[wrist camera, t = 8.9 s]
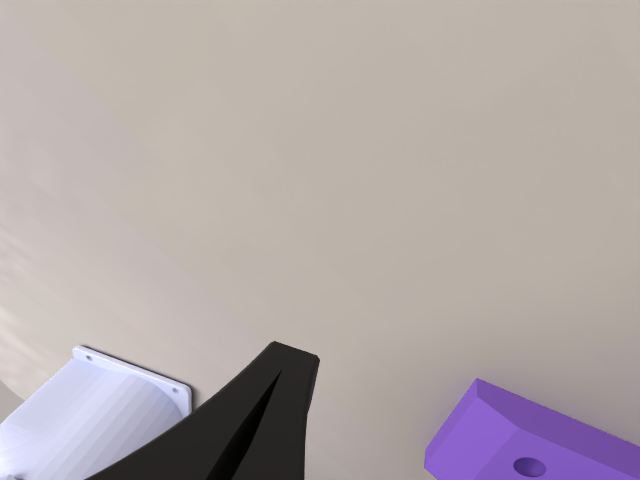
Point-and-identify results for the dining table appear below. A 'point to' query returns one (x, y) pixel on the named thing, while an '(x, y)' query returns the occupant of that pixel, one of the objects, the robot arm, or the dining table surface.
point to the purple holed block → (523, 443)
